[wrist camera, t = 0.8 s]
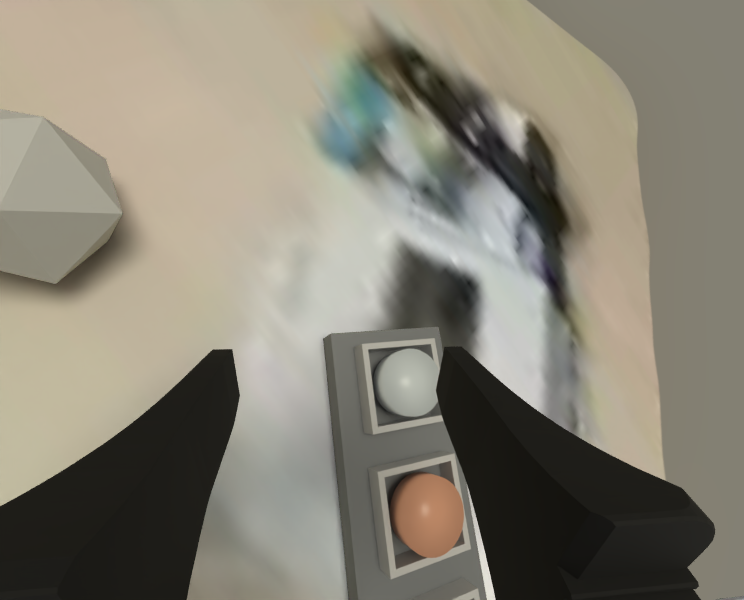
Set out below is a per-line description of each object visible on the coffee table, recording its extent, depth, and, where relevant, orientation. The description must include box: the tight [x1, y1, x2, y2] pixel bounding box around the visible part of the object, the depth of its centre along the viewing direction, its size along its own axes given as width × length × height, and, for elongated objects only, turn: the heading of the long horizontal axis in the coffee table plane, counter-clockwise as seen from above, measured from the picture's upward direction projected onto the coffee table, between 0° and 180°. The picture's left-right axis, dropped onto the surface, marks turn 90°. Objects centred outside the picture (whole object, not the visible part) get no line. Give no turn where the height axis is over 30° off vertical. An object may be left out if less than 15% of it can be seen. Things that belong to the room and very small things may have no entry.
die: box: [0, 109, 123, 284], centre depth 19 cm, size 8×9×10 cm
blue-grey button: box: [373, 349, 439, 417], centre depth 24 cm, size 4×4×2 cm
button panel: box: [323, 327, 487, 600], centre depth 24 cm, size 24×9×4 cm, turn 8°
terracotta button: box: [390, 472, 464, 558], centre depth 22 cm, size 4×4×2 cm
